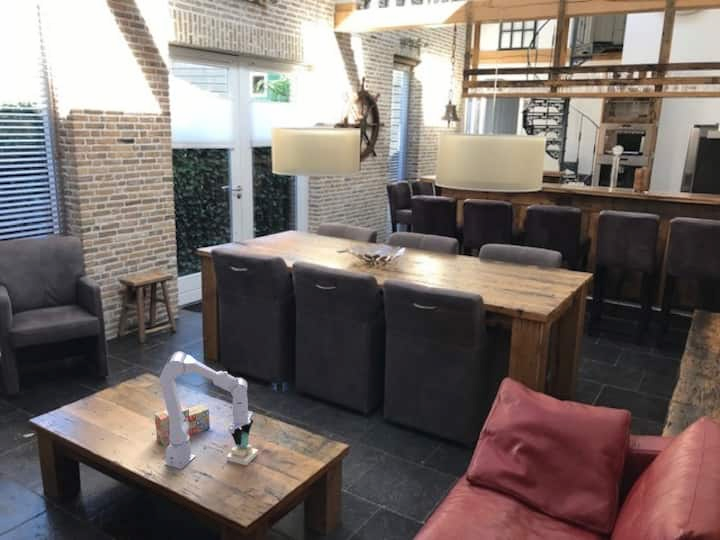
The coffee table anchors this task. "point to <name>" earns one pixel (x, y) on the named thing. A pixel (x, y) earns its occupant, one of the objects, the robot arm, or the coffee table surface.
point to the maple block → (241, 451)
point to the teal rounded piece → (243, 440)
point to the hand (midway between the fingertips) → (241, 440)
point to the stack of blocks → (194, 416)
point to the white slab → (241, 460)
